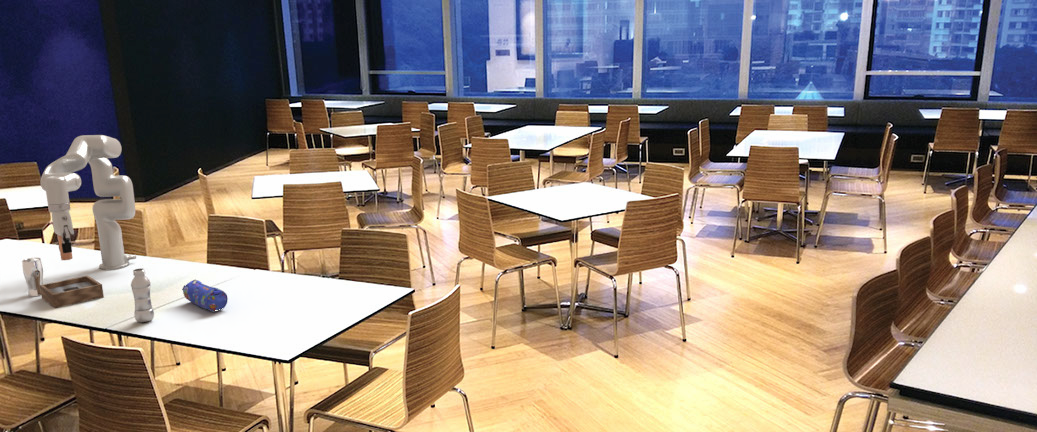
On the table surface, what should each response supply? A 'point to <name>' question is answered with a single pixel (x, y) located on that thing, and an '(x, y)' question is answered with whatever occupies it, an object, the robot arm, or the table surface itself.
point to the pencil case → (205, 295)
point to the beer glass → (33, 275)
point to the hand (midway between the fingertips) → (65, 251)
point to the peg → (63, 255)
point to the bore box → (71, 291)
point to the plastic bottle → (142, 296)
